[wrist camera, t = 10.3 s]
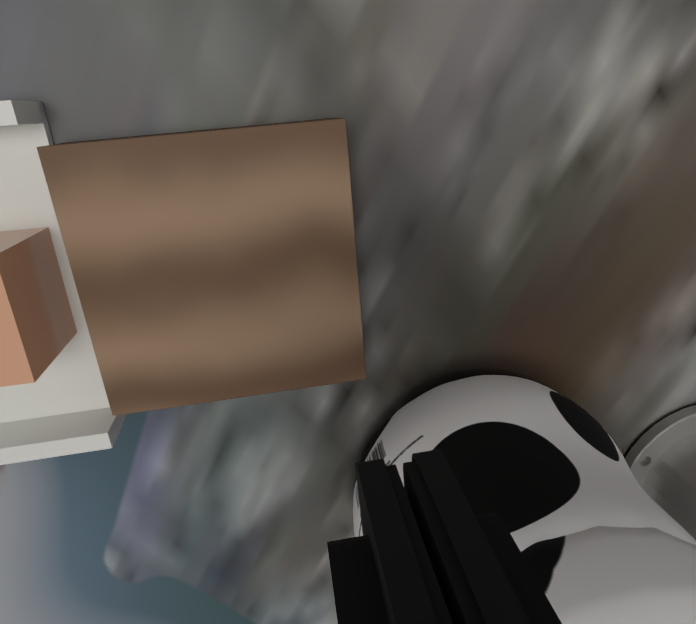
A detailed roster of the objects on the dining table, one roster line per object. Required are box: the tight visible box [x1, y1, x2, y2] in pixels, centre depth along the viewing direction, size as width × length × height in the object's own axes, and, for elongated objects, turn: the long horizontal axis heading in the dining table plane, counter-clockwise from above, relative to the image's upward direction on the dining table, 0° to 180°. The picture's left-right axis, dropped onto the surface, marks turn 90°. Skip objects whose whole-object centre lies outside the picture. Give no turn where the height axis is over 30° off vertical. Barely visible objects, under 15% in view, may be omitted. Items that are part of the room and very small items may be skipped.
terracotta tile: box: [0, 227, 77, 387], centre depth 26 cm, size 6×6×2 cm
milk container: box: [353, 375, 696, 624], centre depth 30 cm, size 17×17×18 cm
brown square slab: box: [37, 118, 366, 416], centre depth 29 cm, size 14×14×4 cm
